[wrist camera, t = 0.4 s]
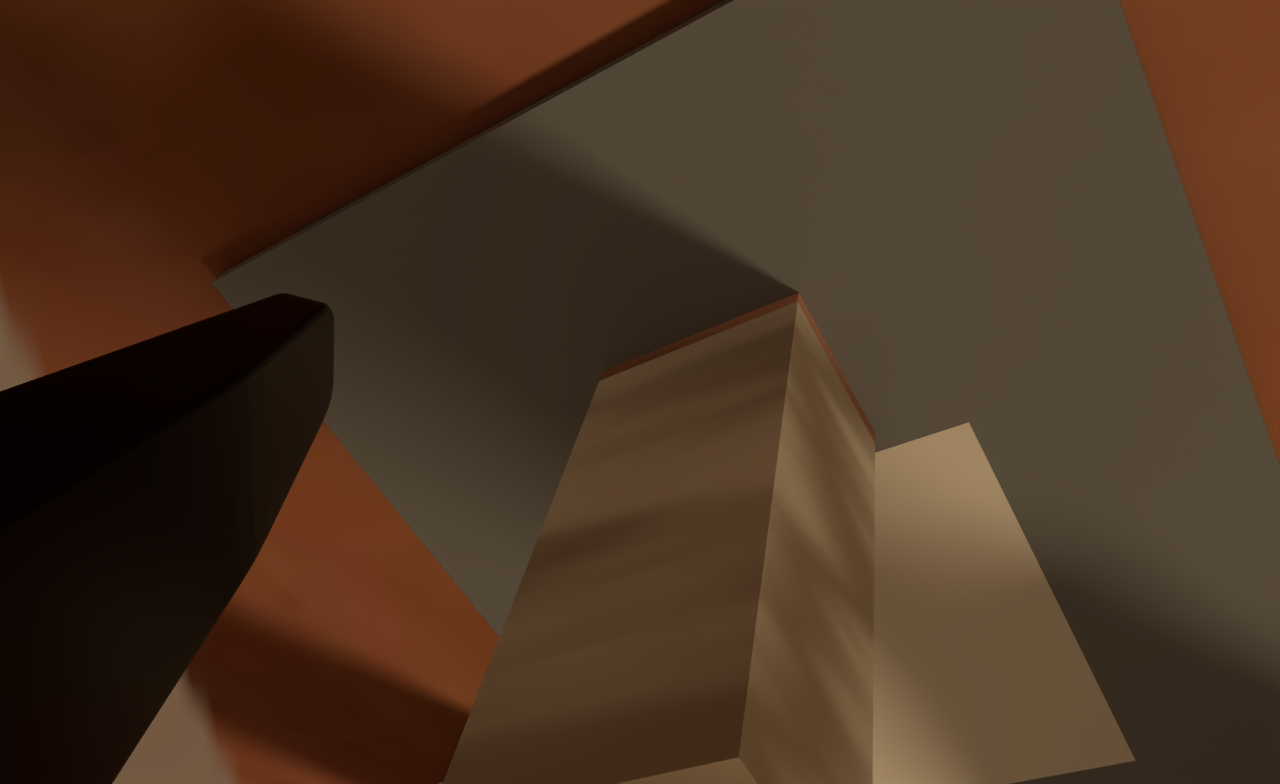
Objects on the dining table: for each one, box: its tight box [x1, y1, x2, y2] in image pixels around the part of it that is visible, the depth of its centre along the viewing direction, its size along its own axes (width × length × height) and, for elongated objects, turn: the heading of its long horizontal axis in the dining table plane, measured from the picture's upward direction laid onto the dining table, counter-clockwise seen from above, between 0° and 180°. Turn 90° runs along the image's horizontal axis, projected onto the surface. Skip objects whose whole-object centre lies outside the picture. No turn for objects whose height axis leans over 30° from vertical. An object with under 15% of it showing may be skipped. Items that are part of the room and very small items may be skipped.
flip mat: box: [211, 0, 1280, 784], centre depth 27 cm, size 26×20×1 cm
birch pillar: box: [443, 293, 875, 784], centre depth 20 cm, size 4×5×12 cm
